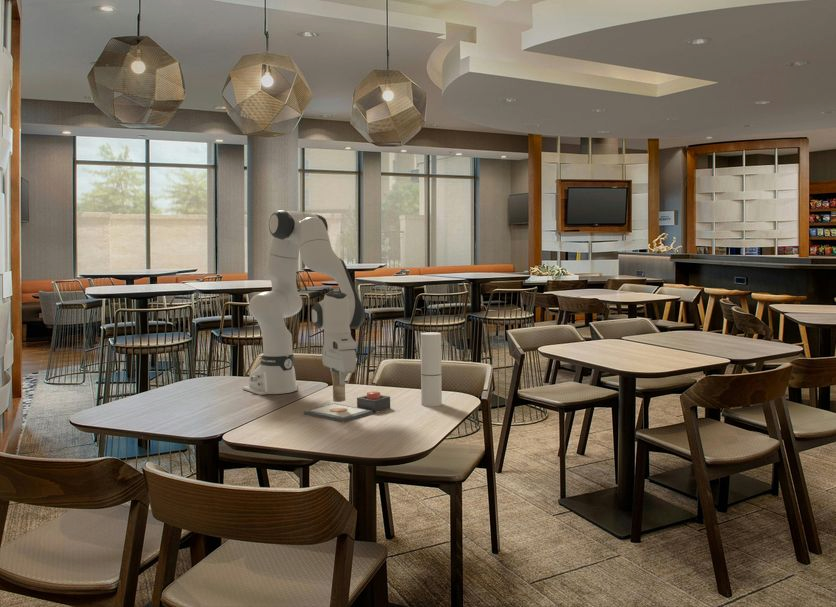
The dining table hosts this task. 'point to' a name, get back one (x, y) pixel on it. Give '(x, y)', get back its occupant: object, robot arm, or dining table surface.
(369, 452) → the dining table surface
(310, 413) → the grey tray
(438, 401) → the cylindrical container
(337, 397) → the marker
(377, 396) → the button
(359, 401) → the button housing
